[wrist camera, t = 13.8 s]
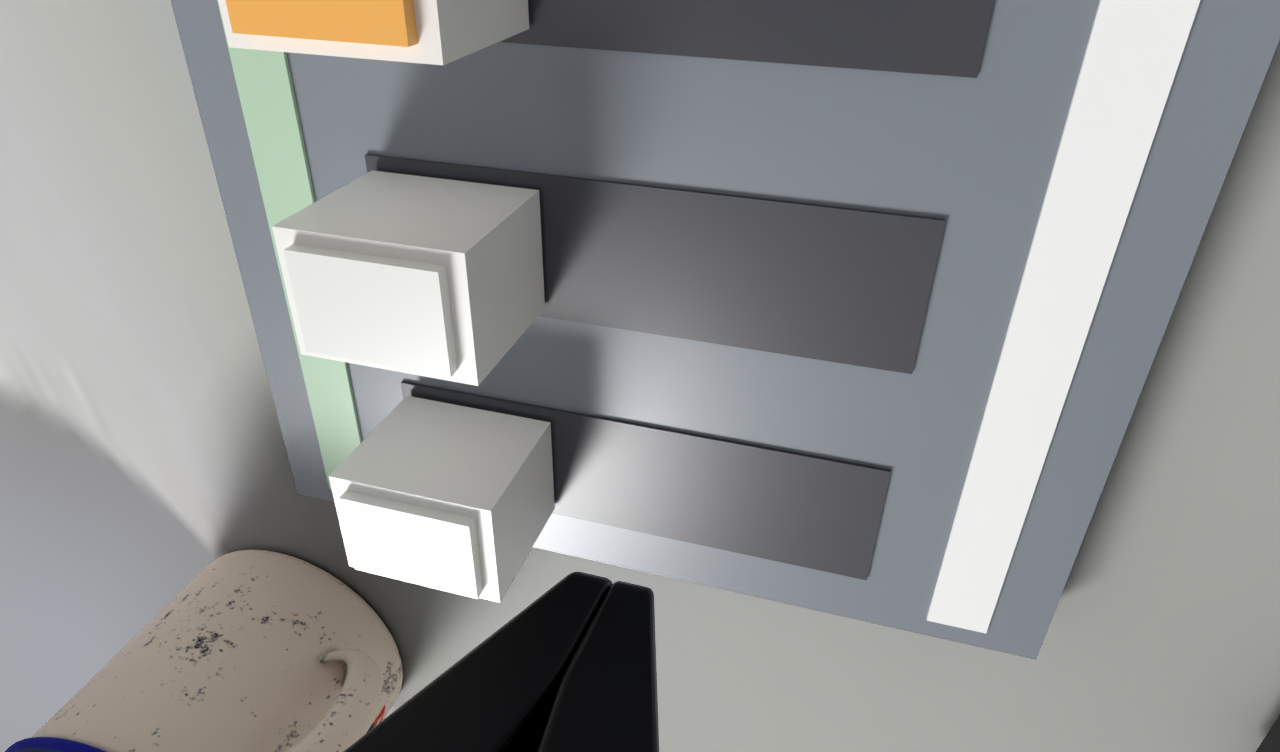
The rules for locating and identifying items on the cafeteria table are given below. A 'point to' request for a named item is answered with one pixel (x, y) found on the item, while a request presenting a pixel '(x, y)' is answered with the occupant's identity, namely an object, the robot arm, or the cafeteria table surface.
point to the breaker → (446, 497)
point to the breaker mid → (414, 274)
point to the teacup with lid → (239, 669)
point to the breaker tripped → (374, 27)
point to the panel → (786, 270)
